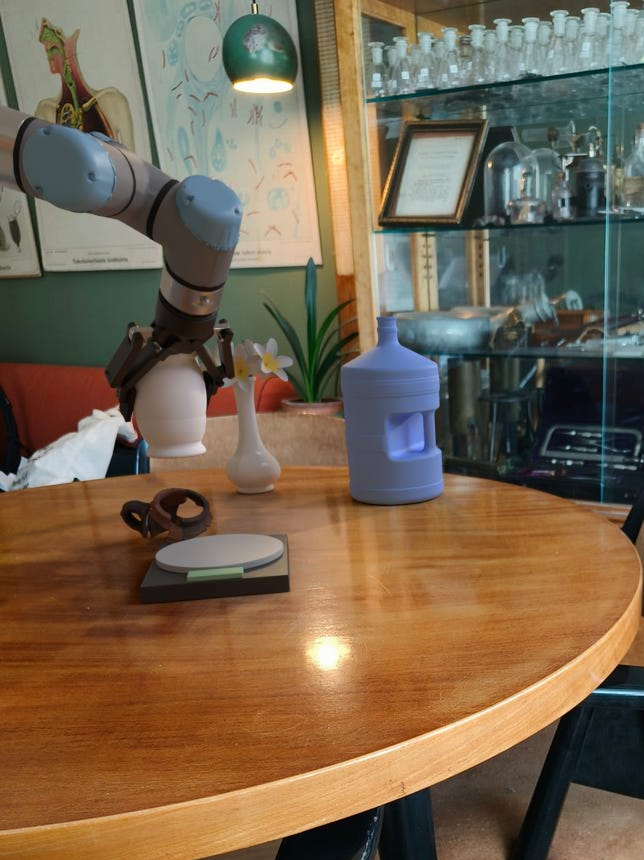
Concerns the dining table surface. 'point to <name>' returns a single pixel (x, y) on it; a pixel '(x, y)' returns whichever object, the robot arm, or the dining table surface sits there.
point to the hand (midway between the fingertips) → (163, 411)
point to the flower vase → (251, 414)
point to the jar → (172, 408)
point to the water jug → (391, 422)
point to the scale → (218, 568)
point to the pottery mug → (168, 515)
